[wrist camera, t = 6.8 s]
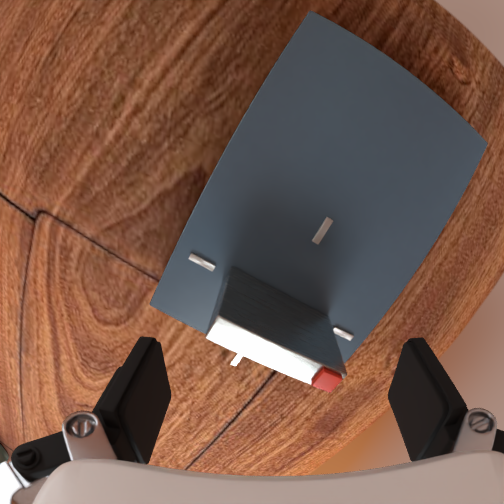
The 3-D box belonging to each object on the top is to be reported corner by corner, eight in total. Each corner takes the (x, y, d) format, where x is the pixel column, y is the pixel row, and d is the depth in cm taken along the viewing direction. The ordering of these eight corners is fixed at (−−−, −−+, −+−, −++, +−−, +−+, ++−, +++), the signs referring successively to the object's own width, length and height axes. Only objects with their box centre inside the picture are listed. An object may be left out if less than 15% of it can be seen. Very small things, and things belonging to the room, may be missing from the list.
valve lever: (221, 283, 16) (203, 341, 11) (232, 265, 16) (216, 319, 11) (317, 331, 17) (331, 396, 12) (329, 315, 17) (348, 378, 12)
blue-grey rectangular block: (303, 29, 14) (310, 8, 11) (461, 141, 16) (490, 143, 13) (158, 295, 20) (142, 320, 17) (309, 368, 22) (314, 398, 19)
